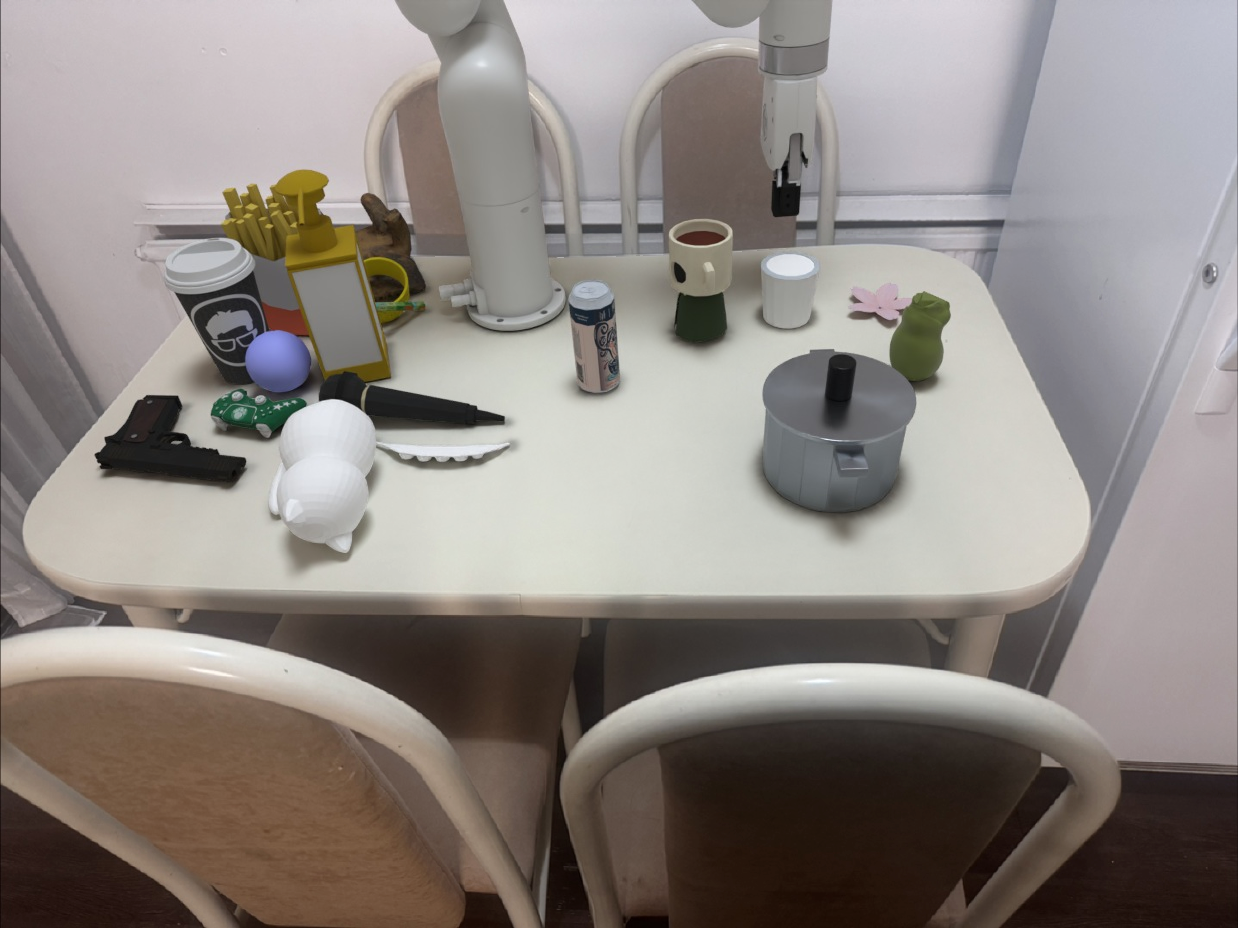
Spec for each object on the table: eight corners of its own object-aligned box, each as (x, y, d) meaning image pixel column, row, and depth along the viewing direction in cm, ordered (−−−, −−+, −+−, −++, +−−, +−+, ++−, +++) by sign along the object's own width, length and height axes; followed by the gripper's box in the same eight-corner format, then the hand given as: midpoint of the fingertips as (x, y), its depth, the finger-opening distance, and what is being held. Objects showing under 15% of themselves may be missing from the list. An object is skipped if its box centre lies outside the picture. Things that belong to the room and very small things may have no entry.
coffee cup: (307, 352, 105) (266, 238, 96) (258, 397, 99) (210, 281, 89) (242, 341, 108) (197, 230, 98) (191, 385, 101) (137, 270, 92)
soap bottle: (328, 417, 95) (256, 215, 79) (326, 355, 104) (262, 164, 89) (394, 403, 96) (336, 202, 81) (386, 344, 105) (333, 153, 90)
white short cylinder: (752, 304, 108) (755, 253, 103) (807, 299, 108) (812, 247, 103) (764, 334, 103) (767, 281, 98) (821, 328, 103) (827, 275, 98)
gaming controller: (298, 382, 94) (269, 422, 90) (311, 406, 97) (284, 446, 93) (226, 371, 96) (195, 410, 92) (241, 395, 99) (211, 433, 95)
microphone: (512, 394, 95) (334, 369, 96) (502, 392, 89) (313, 366, 90) (505, 443, 95) (328, 418, 96) (496, 444, 90) (307, 418, 90)
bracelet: (386, 318, 106) (388, 333, 109) (420, 273, 110) (421, 288, 113) (334, 292, 107) (337, 307, 110) (369, 248, 110) (371, 264, 113)
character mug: (663, 313, 107) (660, 214, 99) (719, 306, 108) (721, 207, 99) (679, 361, 99) (678, 259, 91) (740, 354, 100) (744, 251, 91)
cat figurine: (405, 420, 87) (387, 543, 77) (323, 472, 92) (298, 593, 83) (333, 370, 81) (304, 495, 72) (251, 429, 87) (213, 552, 77)
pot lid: (770, 453, 74) (773, 411, 71) (755, 363, 85) (757, 322, 82) (931, 448, 74) (941, 405, 71) (896, 358, 84) (903, 317, 81)
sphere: (333, 375, 99) (287, 369, 93) (292, 405, 102) (244, 401, 95) (310, 323, 101) (263, 314, 94) (271, 354, 103) (222, 347, 97)
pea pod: (502, 452, 86) (504, 466, 86) (510, 436, 90) (511, 450, 91) (355, 452, 87) (357, 466, 87) (369, 436, 91) (371, 450, 92)
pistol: (290, 420, 96) (232, 489, 87) (149, 405, 99) (79, 471, 90) (284, 403, 95) (225, 471, 86) (142, 388, 98) (70, 453, 88)
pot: (773, 535, 78) (779, 464, 72) (754, 412, 91) (758, 345, 86) (915, 532, 77) (932, 460, 72) (875, 409, 91) (887, 340, 85)
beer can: (615, 397, 95) (608, 302, 87) (573, 394, 96) (562, 299, 88) (624, 372, 98) (617, 278, 90) (583, 369, 99) (573, 276, 91)
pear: (875, 374, 95) (889, 294, 89) (907, 355, 98) (922, 276, 91) (917, 396, 92) (934, 315, 85) (948, 377, 94) (967, 296, 88)
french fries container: (339, 337, 107) (295, 199, 95) (258, 335, 109) (204, 199, 97) (353, 318, 111) (312, 182, 99) (273, 316, 112) (223, 182, 100)
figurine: (378, 178, 123) (424, 235, 110) (396, 225, 129) (442, 286, 115) (288, 211, 120) (325, 274, 107) (310, 258, 126) (347, 324, 112)
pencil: (322, 299, 95) (422, 299, 111) (316, 306, 96) (417, 304, 112) (328, 309, 95) (428, 307, 111) (322, 315, 95) (422, 312, 112)
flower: (818, 303, 107) (819, 292, 106) (879, 279, 111) (880, 268, 110) (874, 339, 100) (876, 327, 99) (937, 312, 104) (939, 301, 103)
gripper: (750, 38, 100) (747, 190, 112) (767, 80, 89) (762, 244, 101) (815, 32, 100) (805, 185, 112) (841, 74, 88) (826, 239, 100)
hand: (785, 213), depth 106 cm, fingers closed
